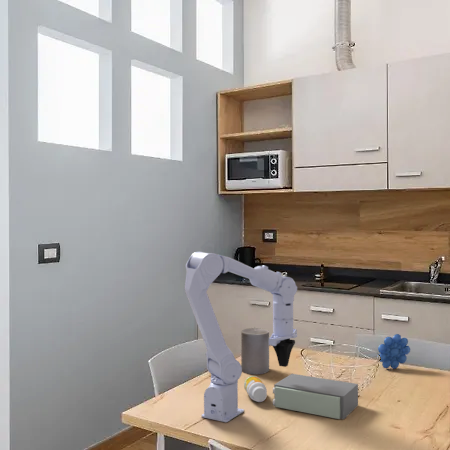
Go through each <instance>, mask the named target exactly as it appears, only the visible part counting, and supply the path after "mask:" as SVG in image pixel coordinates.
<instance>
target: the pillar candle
mask: <svg viewBox="0 0 450 450" xmlns="http://www.w3.org/2000/svg"><path fill="white" fill-rule="evenodd" d="M240 333H241V335H240V339H241V342H240V343H241V345H240V346H241V349H240V353H241V355H240V356H241V357H240V358H241V359H240V360H241V361H240V362H241V363H240V364H241V367H242V373H244V374H247V375H263V374H266V373H268V372H269V371H270V345H269V338H270V330H268V329H266V328H261V327H260V328H259V327H251V328H243V329H242V330H241V331H240Z"/></svg>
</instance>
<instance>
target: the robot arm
mask: <svg viewBox="0 0 450 450" xmlns="http://www.w3.org/2000/svg"><path fill="white" fill-rule="evenodd" d="M184 267H185V270H186V274H185V281H184V282H185V283H184V292H185V295H186V298H187V299H188V304H189V305H190V308H191V311H192V314H193V316H194V319H195V321H196V324H197V327H198V329H199V332H200V334H201V337H202V339H203V343H204V345H205V348H206V352H205V357H206V368H207V371H208V373H210V384H209V385H208V387H206V389H205V391H204V393H203V413H202V414H201V415H200V416H201V418H205V419H209V420H214V421H219V422H223V423H228V422H229V421H231V420H232V419H233V420H234V418H236V417H237V416H239V415H240V414H242V413H244V412H245V409H244V408H239V406H238V403H239V399H238V398H239V397H238V396H239V394H238V392H239V391H238V388H239V387H238V386H239V385H238V384H239V382H238V381H239V379H240V378H241V376H242V374H243V372H242V367H241V363H240V361H239V360H237V358H235V355H234V353H233V352H232V350H231V349H230V348H229V346H228V345H227V343H226V341H225V340H226V339H225V337H224V335H223V332H222V330H221V327H220V324H219V322H218V319H217V317H216V313H215V310H214V308H213V305H212V303H211V301H210V298H209V296H208V292H207V291H208V290H209V287H211V285H212V284H213V282H215V280H216V279H217V278H218V276H220V275H221V274H226V273H228V272H229V273H232V274H235V275H237V276H240V277H243V278H246V279H249V282H250V284H251V285H252V286H253V287H255V288H259V289H261V290H264V291H267V292H269V293H271V295H272V316H273V317H272V333H271V335H270V336H269V346H272V348H273V349H274V352H275V355H276V358H277V362H278V365H279V367H283V368H286V367H288V366H289V363H290V362H289V361H290V357H291V353H292V351H293V348H294V346H295V344H296V340H295V338H298V330H297V328H294V301H295V295H296V294H297V292H298V286H297V284H296V282H295V280H294V278H292V277H290V276H285V275H282V272H280V271H276V272H275V271H273V270H271V269H269V266H267V265H257V266H255V267H254V268H253V267H251V266H249V265H247V264H245V263H243V262H241V261H238V260H236V259H234V258H232V257H229V256H227V255H226V256H225V255H221V254H217V253H214V252H204V251H195V252H193V253H192V254H191V255H190V256H189V258H188V260H187V261H186V264H185V266H184Z"/></svg>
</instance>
